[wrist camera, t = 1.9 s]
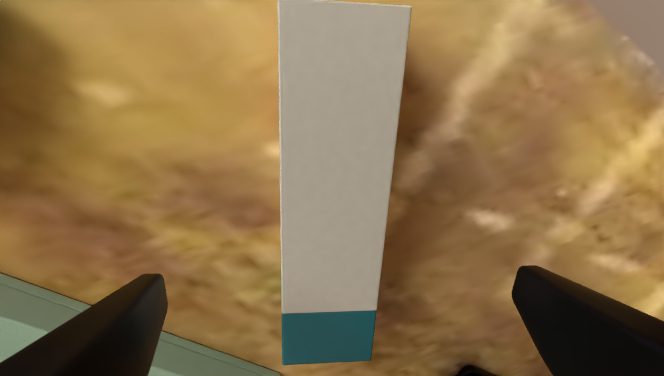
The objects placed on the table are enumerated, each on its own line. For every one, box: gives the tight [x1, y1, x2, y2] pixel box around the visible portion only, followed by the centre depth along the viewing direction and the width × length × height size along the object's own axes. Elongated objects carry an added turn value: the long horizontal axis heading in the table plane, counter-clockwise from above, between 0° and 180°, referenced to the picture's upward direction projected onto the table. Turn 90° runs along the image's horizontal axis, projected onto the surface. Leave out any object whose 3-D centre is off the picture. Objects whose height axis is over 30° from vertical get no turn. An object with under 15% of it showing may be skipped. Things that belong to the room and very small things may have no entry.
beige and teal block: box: [278, 0, 412, 365], centre depth 13 cm, size 13×4×4 cm, turn 177°
